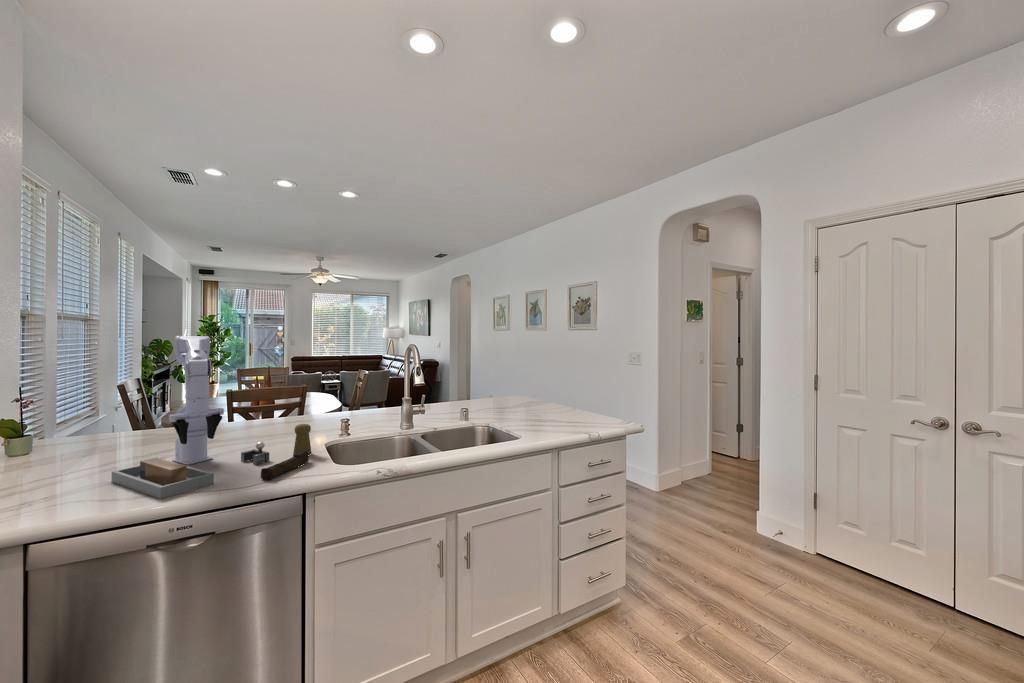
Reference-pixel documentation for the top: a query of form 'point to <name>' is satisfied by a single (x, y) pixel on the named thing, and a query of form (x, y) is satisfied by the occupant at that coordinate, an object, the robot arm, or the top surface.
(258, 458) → the stud bracket
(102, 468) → the top surface
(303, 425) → the olive bottle
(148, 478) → the strut
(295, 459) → the hand tool
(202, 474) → the tray
